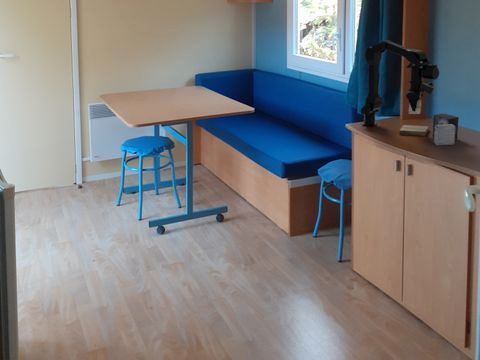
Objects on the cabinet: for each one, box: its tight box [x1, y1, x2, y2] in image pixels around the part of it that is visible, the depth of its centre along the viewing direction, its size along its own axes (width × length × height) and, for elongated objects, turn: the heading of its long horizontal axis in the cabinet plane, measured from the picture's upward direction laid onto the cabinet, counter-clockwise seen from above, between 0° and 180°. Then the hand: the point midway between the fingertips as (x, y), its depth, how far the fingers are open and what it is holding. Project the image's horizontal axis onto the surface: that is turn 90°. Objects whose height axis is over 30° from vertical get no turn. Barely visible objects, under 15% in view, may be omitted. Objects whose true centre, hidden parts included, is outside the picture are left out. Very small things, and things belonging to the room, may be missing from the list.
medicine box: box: [433, 124, 456, 146], centre depth 282 cm, size 8×4×9 cm, turn 92°
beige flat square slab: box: [398, 124, 429, 137], centre depth 306 cm, size 12×12×2 cm
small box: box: [432, 113, 460, 140], centre depth 293 cm, size 11×6×10 cm, turn 23°
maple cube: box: [408, 99, 422, 115], centre depth 302 cm, size 5×5×6 cm
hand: (414, 110), depth 303 cm, fingers closed on maple cube, 5 cm apart
